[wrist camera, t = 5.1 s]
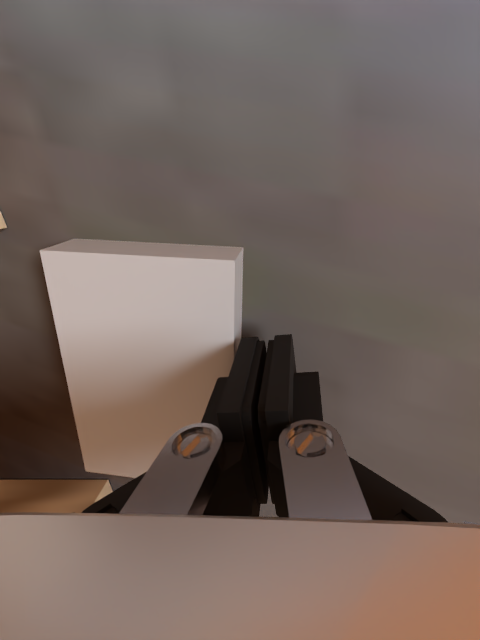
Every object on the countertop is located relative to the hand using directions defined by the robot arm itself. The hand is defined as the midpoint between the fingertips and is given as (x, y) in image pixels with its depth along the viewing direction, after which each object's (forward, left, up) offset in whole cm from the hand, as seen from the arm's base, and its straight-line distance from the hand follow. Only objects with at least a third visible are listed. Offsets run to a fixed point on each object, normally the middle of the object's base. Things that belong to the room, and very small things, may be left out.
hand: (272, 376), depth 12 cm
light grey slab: (+4, 0, -2) cm, 5 cm away
